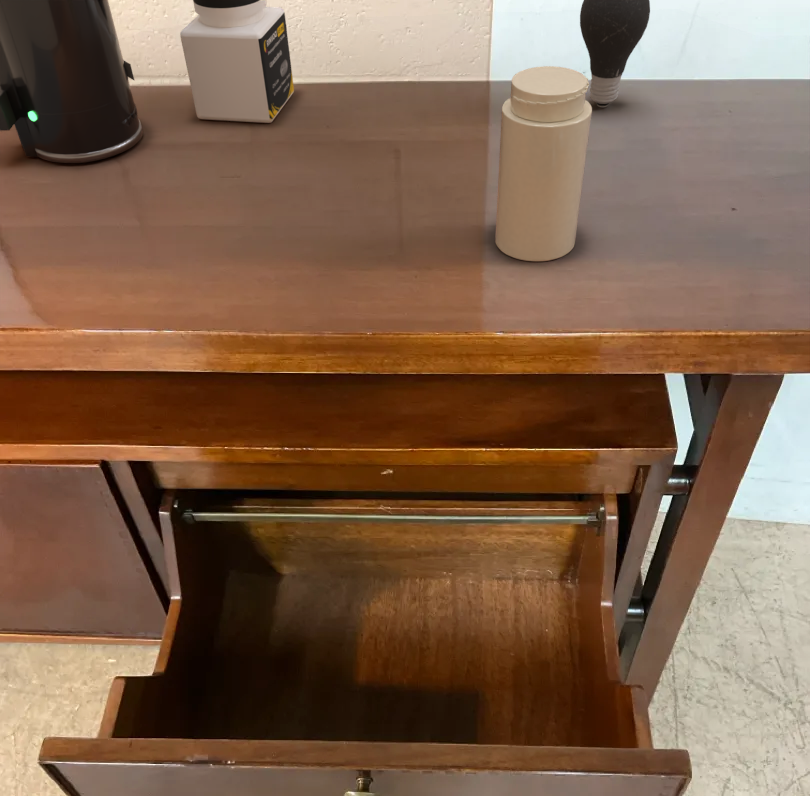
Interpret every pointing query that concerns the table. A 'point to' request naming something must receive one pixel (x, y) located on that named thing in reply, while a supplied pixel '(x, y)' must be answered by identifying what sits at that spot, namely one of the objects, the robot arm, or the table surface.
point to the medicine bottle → (238, 60)
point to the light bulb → (611, 41)
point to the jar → (542, 163)
